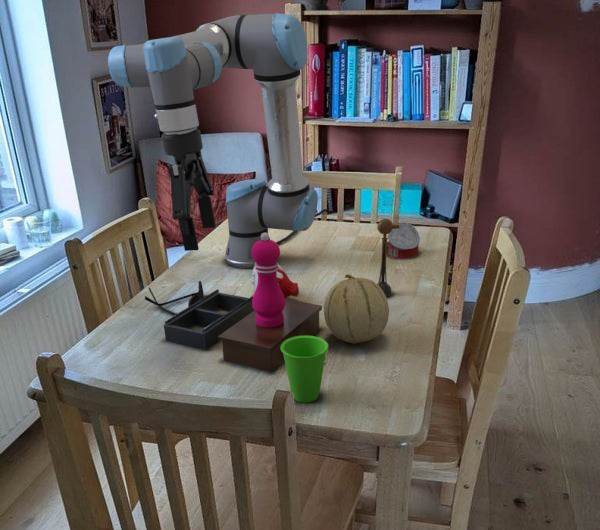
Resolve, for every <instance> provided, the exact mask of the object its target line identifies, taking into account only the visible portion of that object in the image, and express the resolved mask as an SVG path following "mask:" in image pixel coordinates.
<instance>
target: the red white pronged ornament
mask: <svg viewBox="0 0 600 530" xmlns="http://www.w3.org/2000/svg"><path fill="white" fill-rule="evenodd" d="M278 267H279V269H278V270H277V274H276V275H277V282H278V285H279V287H280V289H281V291H282V293H283V295H284V298H285V299H286V298H287V297H298V296H299V294H300V291H299V290H300V288H299V283H298V282H293V281H292V280H291V279H290V278H289V276H288V275H287V273H286V271H284V269H283V267H282V266H281V265H279V264H278ZM251 276H252V277H253V279H252V281H251V284H252V285H253V286H254V292H255V291H256V288H257V284H258V274H257V271H255V267H253V268H252V273H251Z"/></svg>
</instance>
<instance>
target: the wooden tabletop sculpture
mask: <svg viewBox="0 0 600 530" xmlns="http://www.w3.org/2000/svg"><path fill="white" fill-rule="evenodd" d="M392 229H399V224H398V223H395V224H394V223H393V221H392V220H391V219H389V218H382V219H381V220H379V221H378V223H377V231H378V232H379V234H381V235H382V236H383V237H381V259H380V271H379V277H378V281H377V283H376V284H377V285H378V286H379V287H380V288H381V289H382V291H383V292H384V294H385V296H386V298H390V297H391V296H392V287H391V285H390V284H389V283H388V280H387V279H388V277H387V255H386V254H387V242H388V240H389V239H388V234H389V233H390V232H391V231H392Z"/></svg>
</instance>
